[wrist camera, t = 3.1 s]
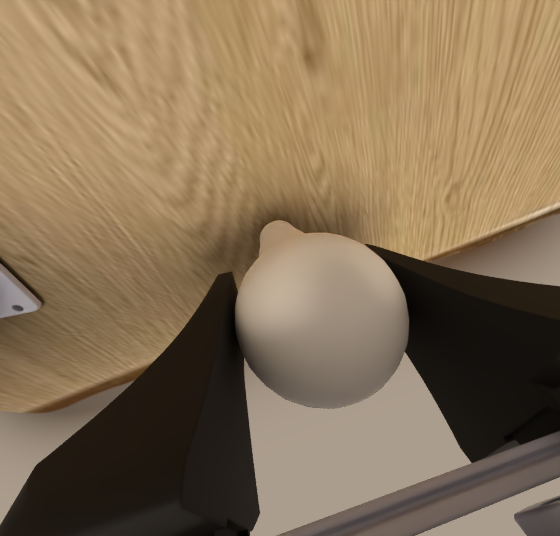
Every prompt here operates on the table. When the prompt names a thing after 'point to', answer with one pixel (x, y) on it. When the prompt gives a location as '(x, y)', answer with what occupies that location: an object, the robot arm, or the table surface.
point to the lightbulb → (320, 317)
